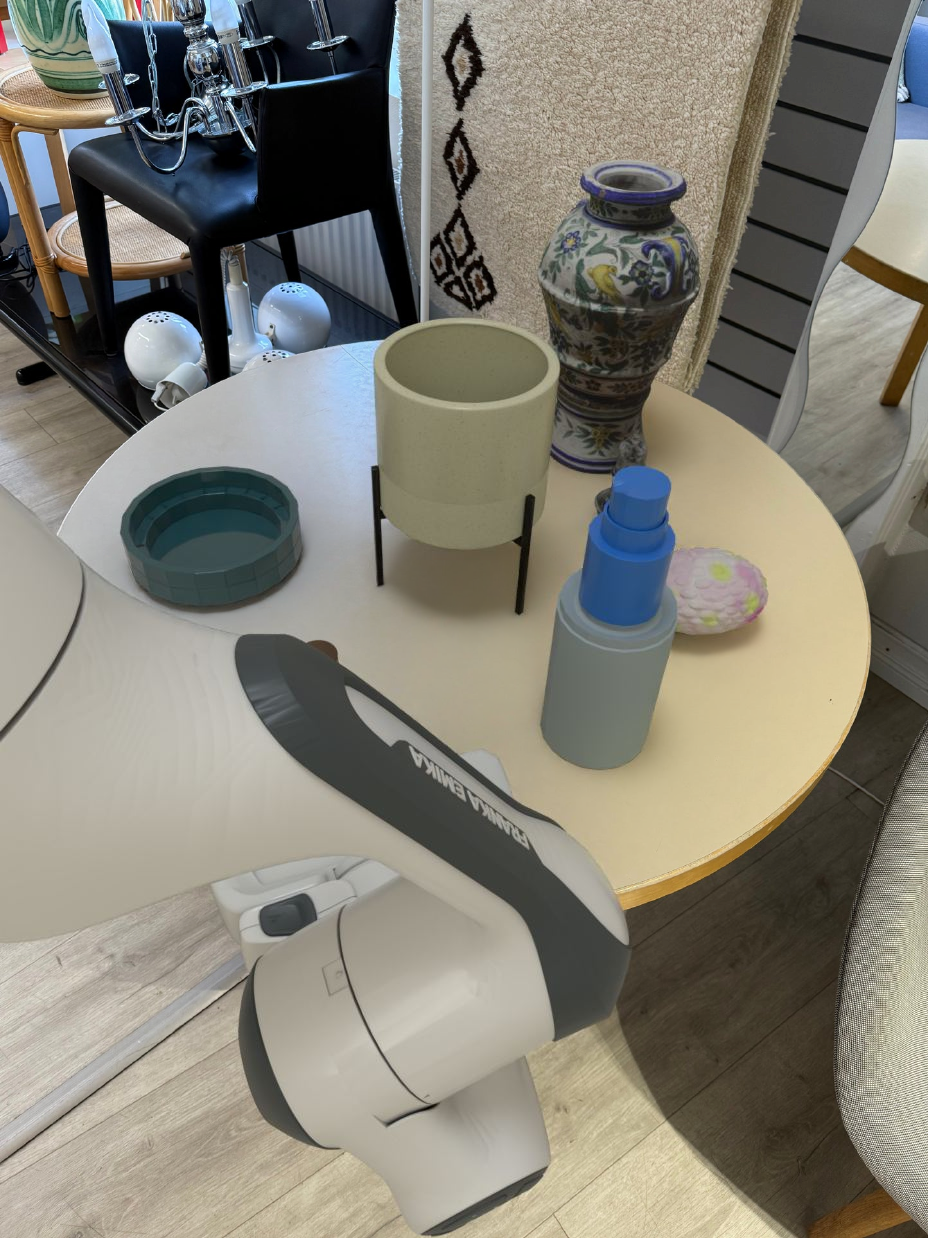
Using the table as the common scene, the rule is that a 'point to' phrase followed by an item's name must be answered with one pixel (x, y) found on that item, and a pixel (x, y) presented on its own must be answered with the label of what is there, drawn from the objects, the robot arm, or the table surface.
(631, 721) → the spray bottle
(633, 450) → the salt shaker
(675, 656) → the table surface
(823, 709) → the table surface
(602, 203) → the vase
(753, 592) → the decorative item
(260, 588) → the dish
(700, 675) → the table surface
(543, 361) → the planter
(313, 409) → the table surface
